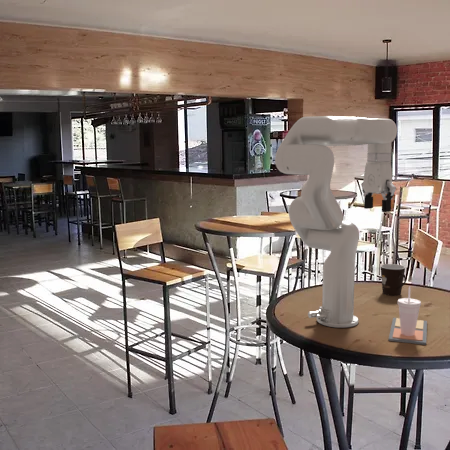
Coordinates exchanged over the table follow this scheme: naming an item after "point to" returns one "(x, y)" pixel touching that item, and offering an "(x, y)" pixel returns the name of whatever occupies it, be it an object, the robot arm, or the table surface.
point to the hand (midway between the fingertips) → (377, 210)
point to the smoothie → (408, 314)
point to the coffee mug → (392, 279)
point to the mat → (416, 339)
